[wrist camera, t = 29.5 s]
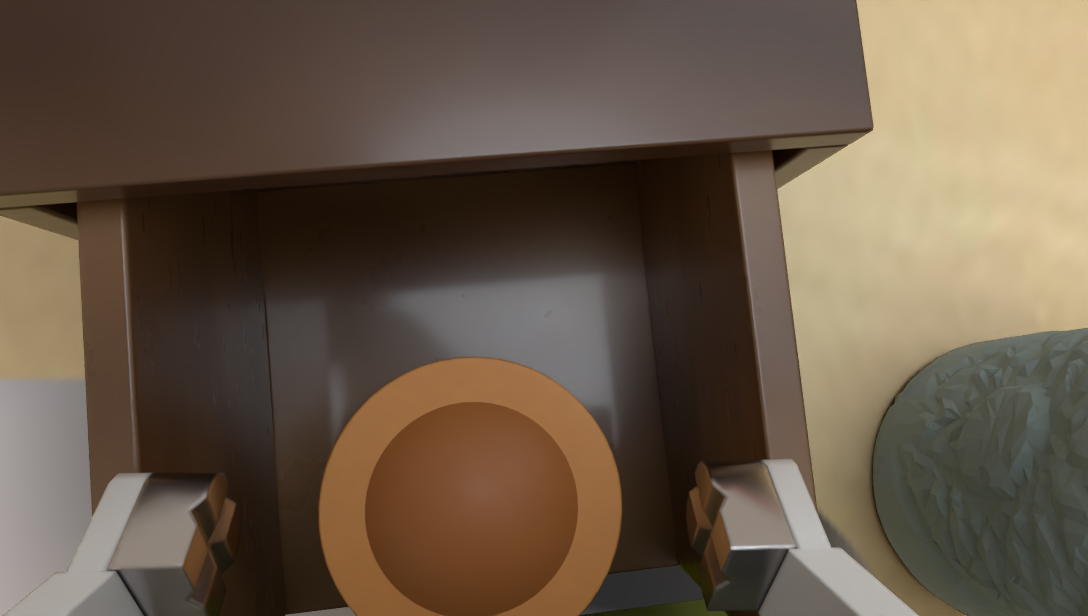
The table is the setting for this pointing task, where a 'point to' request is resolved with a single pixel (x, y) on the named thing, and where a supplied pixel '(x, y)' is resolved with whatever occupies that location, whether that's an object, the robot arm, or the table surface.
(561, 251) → the drawer
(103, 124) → the cabinet
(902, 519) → the grey green plant pot
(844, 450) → the table surface
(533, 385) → the terracotta hollow cylinder
